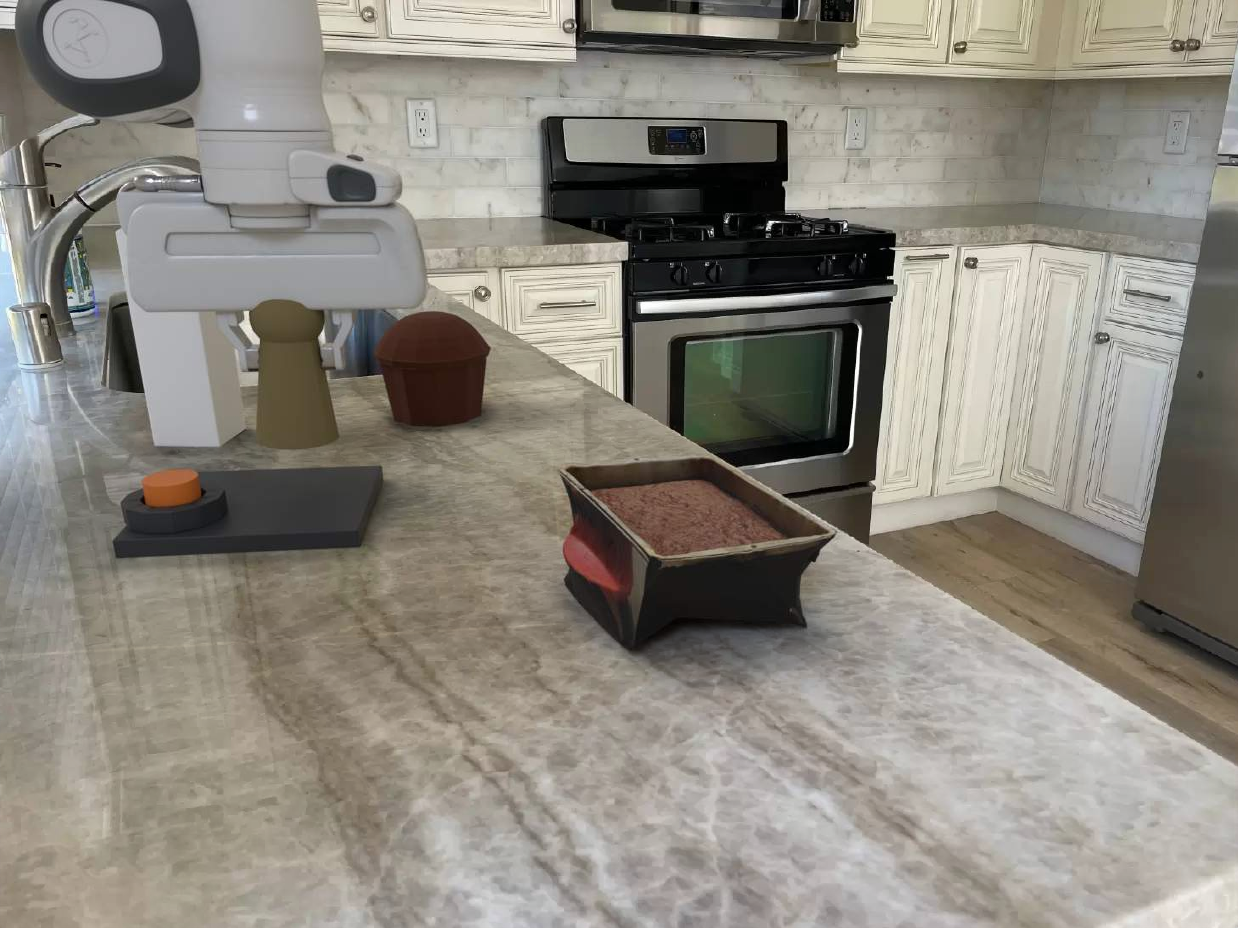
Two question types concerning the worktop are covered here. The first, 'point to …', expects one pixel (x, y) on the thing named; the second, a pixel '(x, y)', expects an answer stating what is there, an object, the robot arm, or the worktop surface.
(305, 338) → the cork
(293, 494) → the scale
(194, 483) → the button
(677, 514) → the baking dish
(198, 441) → the milk
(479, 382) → the muffin
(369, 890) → the worktop surface
